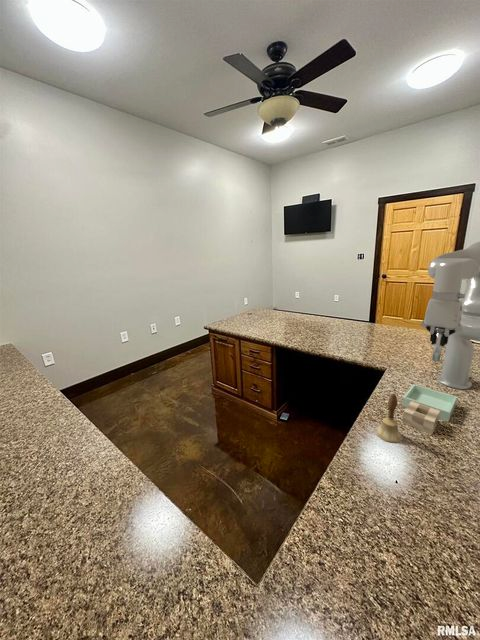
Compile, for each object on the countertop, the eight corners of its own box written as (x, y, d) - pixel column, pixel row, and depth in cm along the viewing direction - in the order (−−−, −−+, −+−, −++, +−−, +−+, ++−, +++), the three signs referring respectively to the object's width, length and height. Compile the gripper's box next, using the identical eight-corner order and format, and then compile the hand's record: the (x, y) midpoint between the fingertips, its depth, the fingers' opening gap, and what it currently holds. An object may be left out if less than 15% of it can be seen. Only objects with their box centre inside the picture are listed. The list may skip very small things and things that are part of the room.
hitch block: (409, 412, 100) (411, 400, 99) (438, 422, 94) (440, 410, 92) (402, 423, 95) (403, 411, 93) (431, 434, 88) (433, 422, 87)
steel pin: (431, 357, 101) (435, 325, 97) (443, 359, 98) (448, 327, 94) (428, 360, 98) (433, 327, 94) (440, 363, 95) (446, 329, 92)
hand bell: (404, 433, 90) (410, 392, 85) (399, 446, 84) (404, 404, 80) (379, 423, 95) (382, 385, 91) (371, 435, 89) (375, 395, 85)
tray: (412, 392, 113) (413, 384, 112) (455, 405, 103) (457, 396, 101) (401, 405, 104) (402, 397, 103) (448, 422, 94) (449, 412, 93)
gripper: (477, 296, 88) (468, 346, 93) (421, 292, 99) (416, 337, 104) (473, 300, 83) (464, 352, 88) (415, 296, 95) (410, 342, 100)
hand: (438, 344), depth 96 cm, fingers closed on steel pin, 2 cm apart
